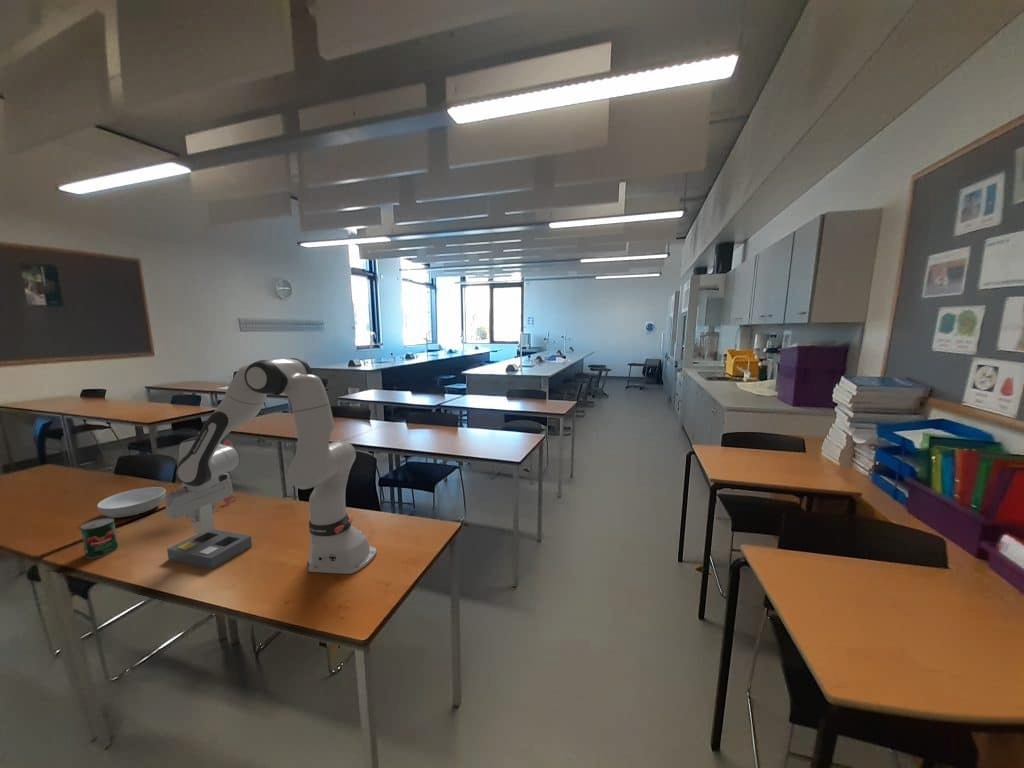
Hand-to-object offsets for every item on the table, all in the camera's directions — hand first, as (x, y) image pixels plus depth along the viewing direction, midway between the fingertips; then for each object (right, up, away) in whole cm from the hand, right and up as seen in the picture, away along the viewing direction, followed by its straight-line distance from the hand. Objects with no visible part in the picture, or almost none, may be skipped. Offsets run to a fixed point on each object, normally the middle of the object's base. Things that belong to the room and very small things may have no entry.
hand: (203, 518), depth 133 cm
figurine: (-25, -7, +35) cm, 43 cm away
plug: (0, -5, +1) cm, 5 cm away
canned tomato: (-35, -12, -1) cm, 37 cm away
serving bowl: (-53, -8, +29) cm, 61 cm away
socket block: (+4, -12, -2) cm, 12 cm away
